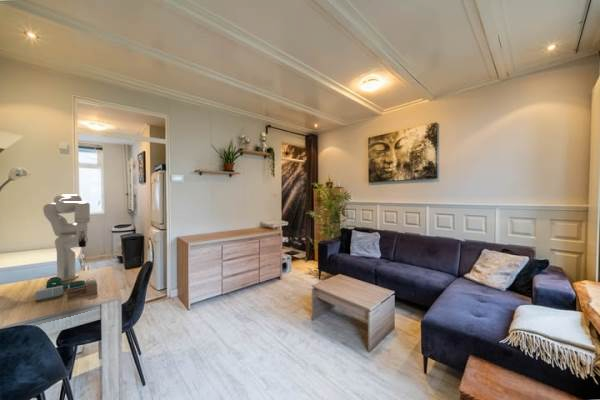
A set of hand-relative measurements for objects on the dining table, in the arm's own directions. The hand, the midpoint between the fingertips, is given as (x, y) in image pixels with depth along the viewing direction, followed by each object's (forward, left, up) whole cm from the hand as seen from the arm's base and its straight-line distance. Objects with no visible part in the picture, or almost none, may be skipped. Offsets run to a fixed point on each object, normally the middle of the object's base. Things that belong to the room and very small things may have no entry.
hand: (82, 245), depth 155 cm
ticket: (+11, -15, -27) cm, 33 cm away
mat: (+11, -15, -28) cm, 33 cm away
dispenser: (+18, -1, -28) cm, 33 cm away
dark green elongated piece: (-3, -7, -28) cm, 29 cm away
